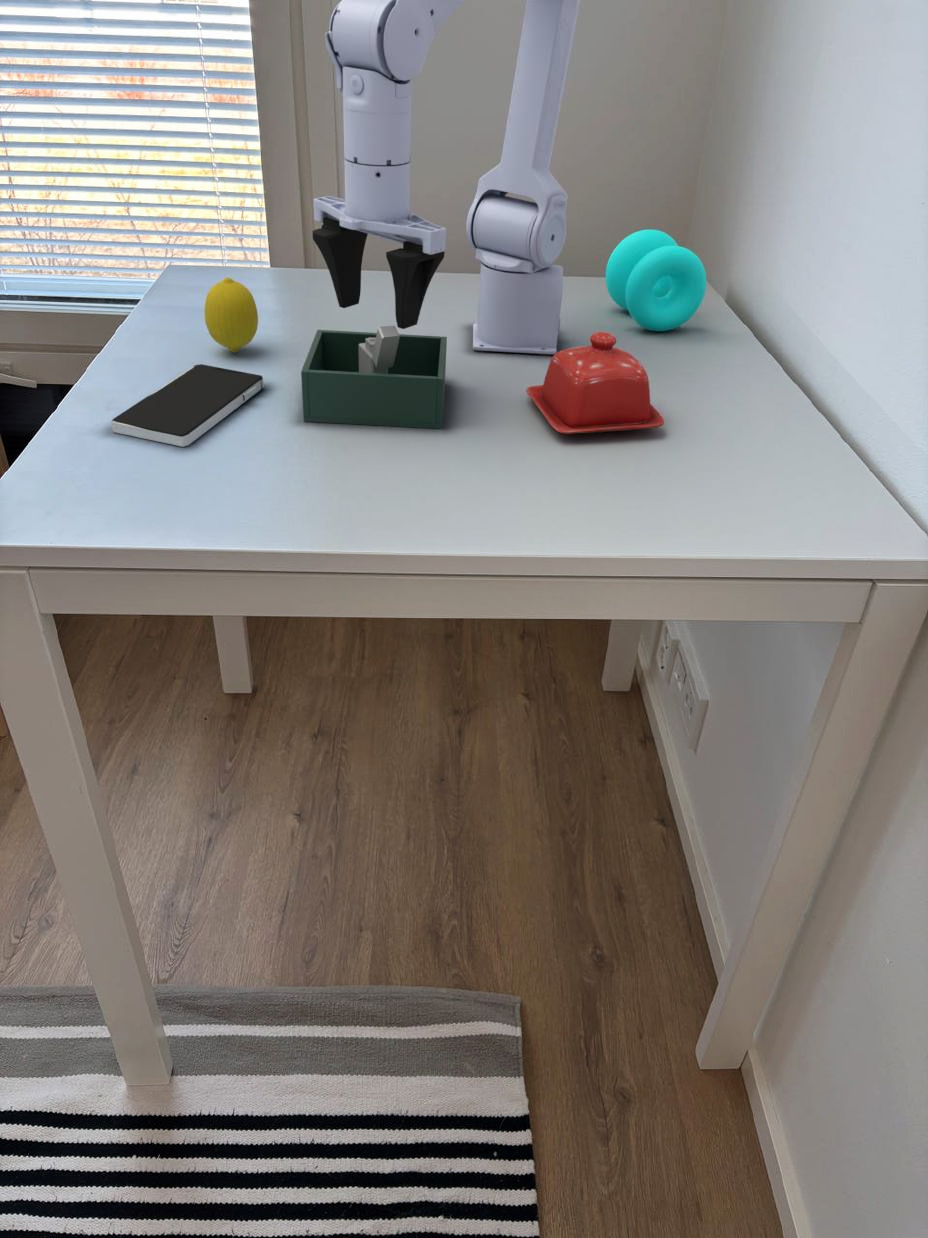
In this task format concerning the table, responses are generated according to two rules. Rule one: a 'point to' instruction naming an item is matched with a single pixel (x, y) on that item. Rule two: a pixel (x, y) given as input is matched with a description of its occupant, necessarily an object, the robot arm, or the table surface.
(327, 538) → the table surface
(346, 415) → the bin
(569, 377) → the butter dish
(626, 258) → the turquoise yoyo
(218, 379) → the smartphone
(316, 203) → the robot arm
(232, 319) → the lemon
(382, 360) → the grey stepped block
